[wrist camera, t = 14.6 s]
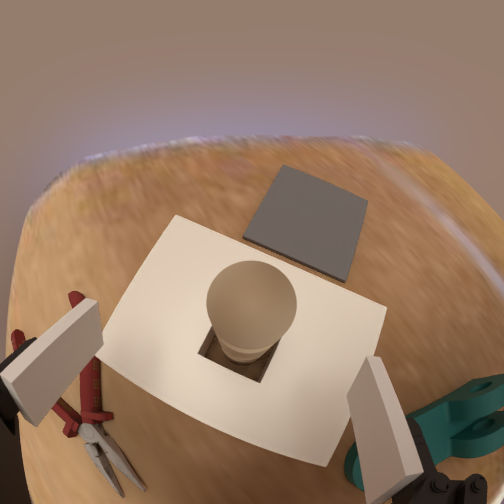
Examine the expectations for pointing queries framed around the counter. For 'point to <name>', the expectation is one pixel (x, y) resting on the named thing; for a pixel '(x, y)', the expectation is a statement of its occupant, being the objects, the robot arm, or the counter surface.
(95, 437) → the pliers
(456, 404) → the bracket
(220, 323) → the peg
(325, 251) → the mat
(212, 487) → the counter surface
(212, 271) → the hole block
